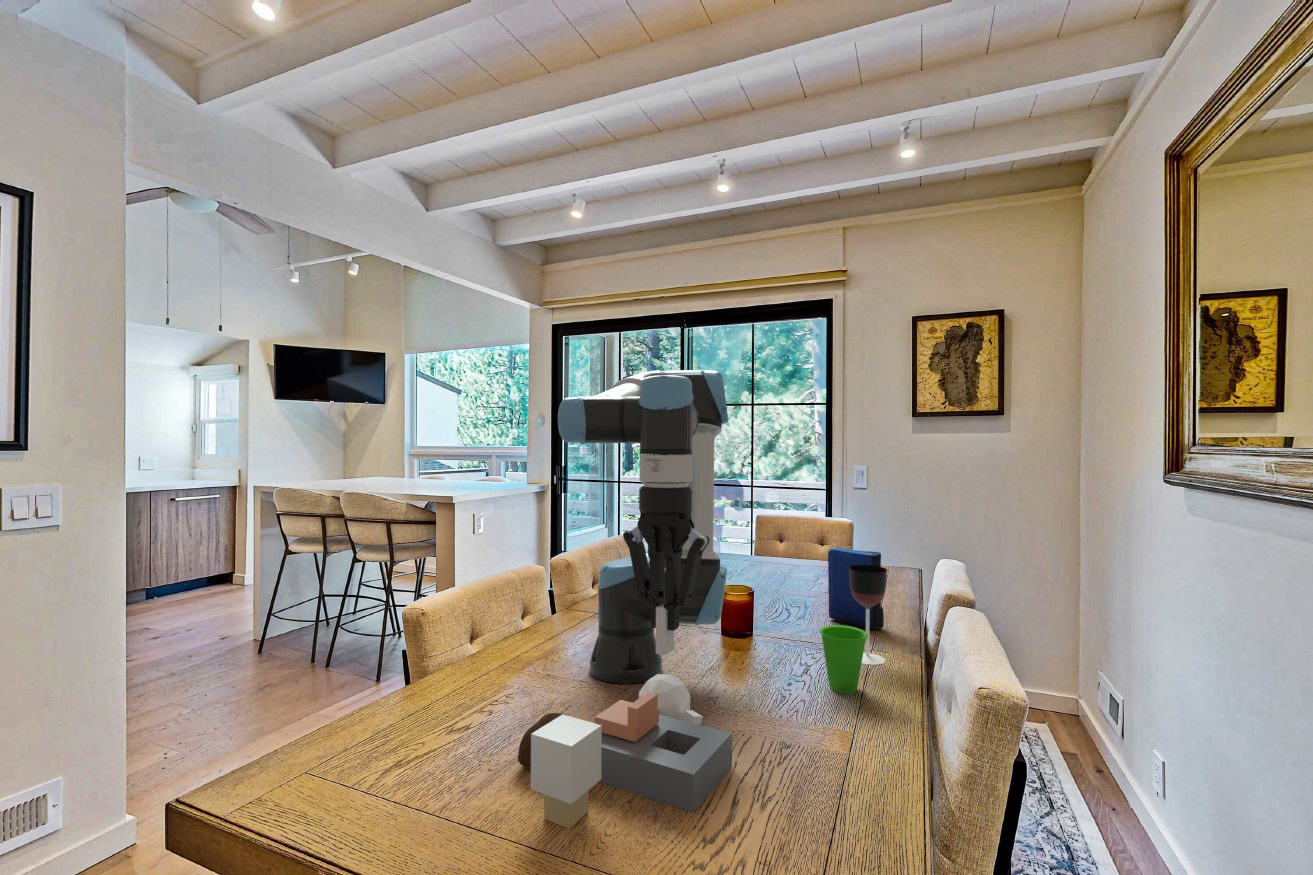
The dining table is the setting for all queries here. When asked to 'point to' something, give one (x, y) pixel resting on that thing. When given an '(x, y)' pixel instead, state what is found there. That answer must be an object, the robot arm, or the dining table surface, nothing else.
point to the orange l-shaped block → (630, 717)
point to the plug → (566, 767)
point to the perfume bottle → (671, 698)
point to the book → (840, 591)
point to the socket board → (668, 762)
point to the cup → (843, 656)
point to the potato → (525, 743)
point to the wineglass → (868, 597)
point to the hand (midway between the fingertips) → (664, 651)
